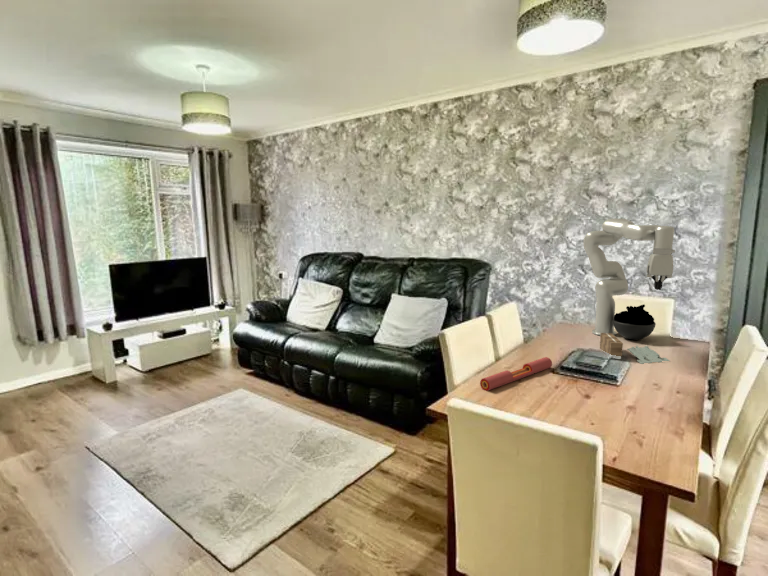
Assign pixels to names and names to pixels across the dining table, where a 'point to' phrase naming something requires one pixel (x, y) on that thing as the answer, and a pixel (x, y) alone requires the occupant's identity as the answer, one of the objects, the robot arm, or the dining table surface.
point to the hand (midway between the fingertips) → (657, 289)
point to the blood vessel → (515, 374)
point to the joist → (611, 344)
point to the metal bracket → (646, 355)
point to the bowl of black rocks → (634, 323)
